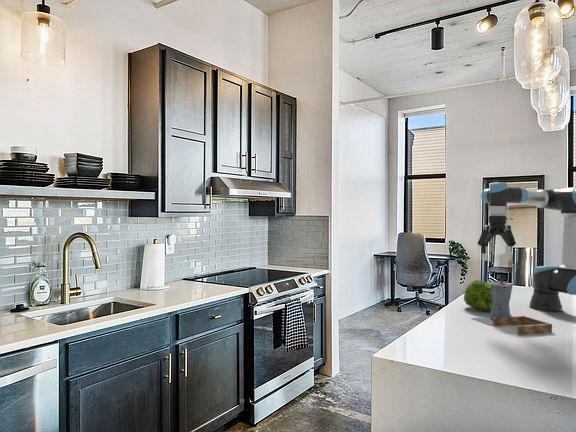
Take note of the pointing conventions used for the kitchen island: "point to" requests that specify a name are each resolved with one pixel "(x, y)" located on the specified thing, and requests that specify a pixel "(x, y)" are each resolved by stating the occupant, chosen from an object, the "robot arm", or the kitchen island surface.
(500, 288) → the moka pot
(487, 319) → the mat
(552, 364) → the kitchen island surface
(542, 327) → the brown wooden frame
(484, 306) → the lettuce
